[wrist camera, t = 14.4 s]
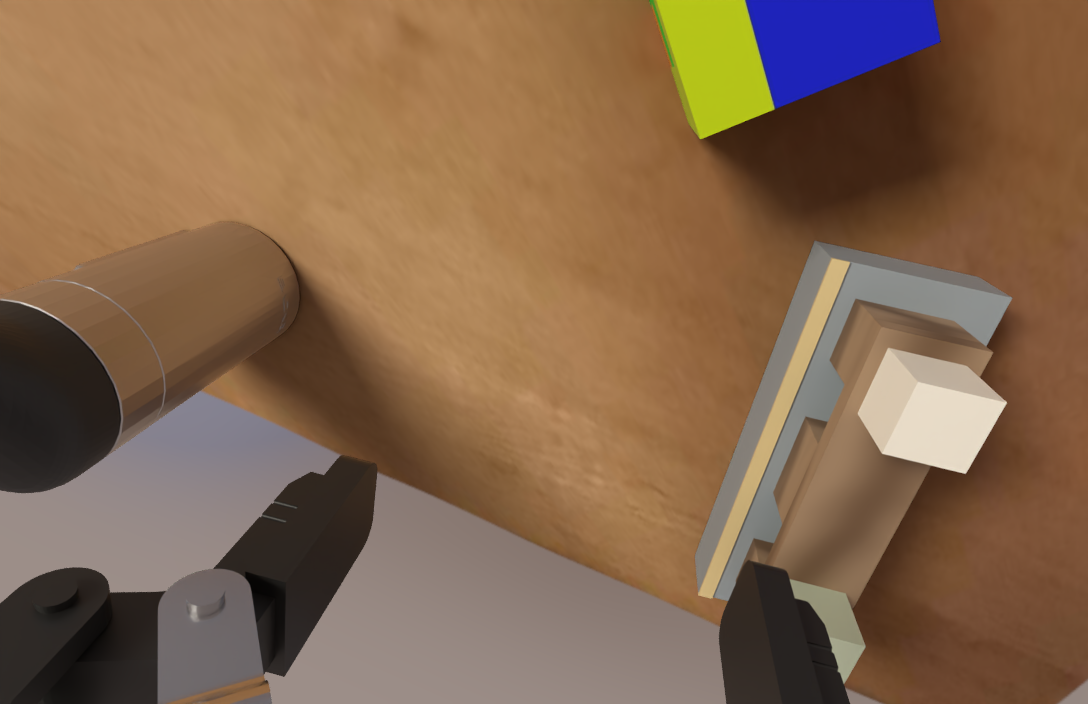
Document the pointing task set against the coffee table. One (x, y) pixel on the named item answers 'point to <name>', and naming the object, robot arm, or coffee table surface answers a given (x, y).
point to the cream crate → (929, 410)
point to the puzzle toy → (780, 50)
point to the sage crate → (834, 623)
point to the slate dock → (819, 384)
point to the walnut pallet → (855, 458)
